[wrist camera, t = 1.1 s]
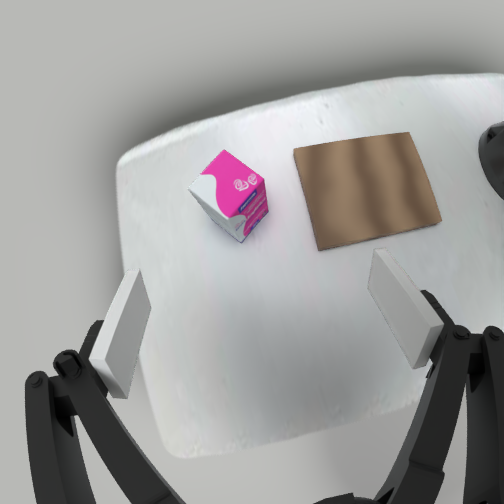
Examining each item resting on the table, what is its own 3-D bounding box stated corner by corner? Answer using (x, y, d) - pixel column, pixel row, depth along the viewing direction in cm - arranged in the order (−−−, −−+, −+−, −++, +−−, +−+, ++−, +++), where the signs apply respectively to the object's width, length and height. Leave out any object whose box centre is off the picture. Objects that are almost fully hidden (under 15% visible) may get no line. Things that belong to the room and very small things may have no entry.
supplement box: (242, 245, 41) (225, 221, 29) (209, 217, 42) (183, 187, 31) (271, 212, 41) (265, 177, 30) (237, 186, 42) (221, 146, 31)
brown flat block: (405, 138, 41) (409, 131, 39) (436, 224, 38) (442, 220, 36) (293, 155, 42) (293, 148, 40) (318, 251, 39) (320, 248, 37)
